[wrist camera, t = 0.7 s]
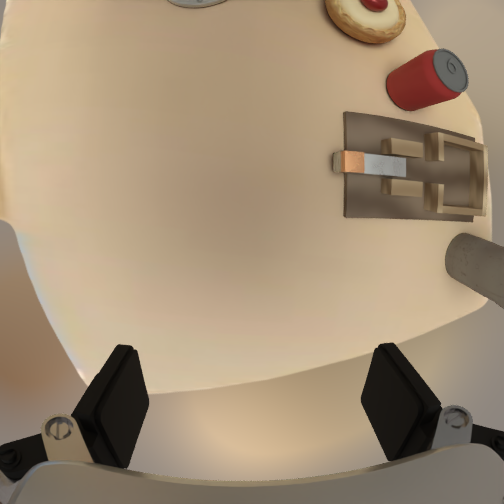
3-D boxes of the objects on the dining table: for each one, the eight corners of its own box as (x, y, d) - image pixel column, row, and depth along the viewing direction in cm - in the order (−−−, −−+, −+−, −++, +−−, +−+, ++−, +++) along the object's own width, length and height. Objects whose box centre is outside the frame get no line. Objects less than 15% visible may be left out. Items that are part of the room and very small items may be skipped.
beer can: (424, 84, 32) (473, 65, 20) (417, 119, 34) (469, 107, 22) (389, 63, 31) (432, 34, 20) (380, 98, 33) (427, 75, 21)
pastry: (317, 35, 31) (332, 6, 22) (323, -18, 28) (335, -50, 19) (394, 59, 31) (423, 39, 23) (394, 4, 28) (417, -20, 20)
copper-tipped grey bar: (333, 153, 34) (344, 150, 29) (394, 159, 34) (411, 157, 30) (333, 172, 34) (345, 171, 30) (394, 176, 34) (411, 177, 30)
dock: (343, 112, 34) (355, 105, 29) (471, 138, 34) (488, 137, 30) (343, 216, 37) (356, 221, 33) (469, 221, 38) (486, 226, 33)
